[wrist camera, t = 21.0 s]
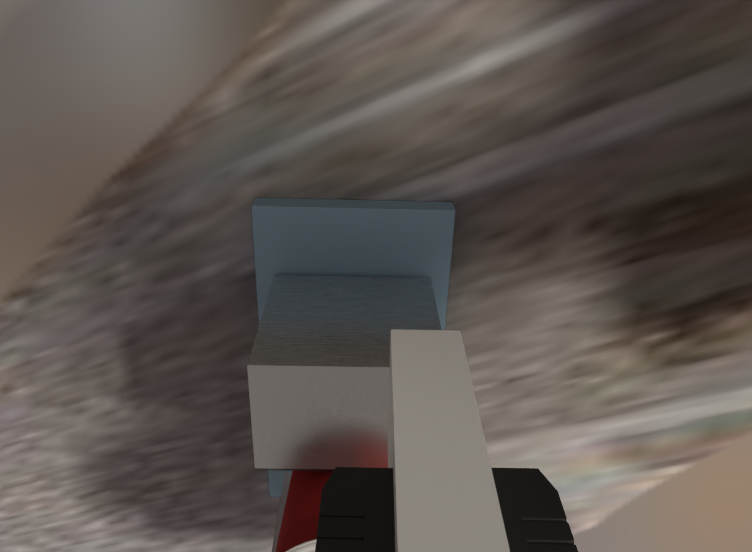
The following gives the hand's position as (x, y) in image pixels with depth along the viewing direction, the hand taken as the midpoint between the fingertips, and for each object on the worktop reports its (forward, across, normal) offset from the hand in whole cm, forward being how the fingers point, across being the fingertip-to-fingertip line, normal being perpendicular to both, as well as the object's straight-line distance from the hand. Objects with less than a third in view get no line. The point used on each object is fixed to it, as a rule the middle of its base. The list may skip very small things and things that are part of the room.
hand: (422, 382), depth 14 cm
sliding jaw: (+23, -2, -12) cm, 26 cm away
